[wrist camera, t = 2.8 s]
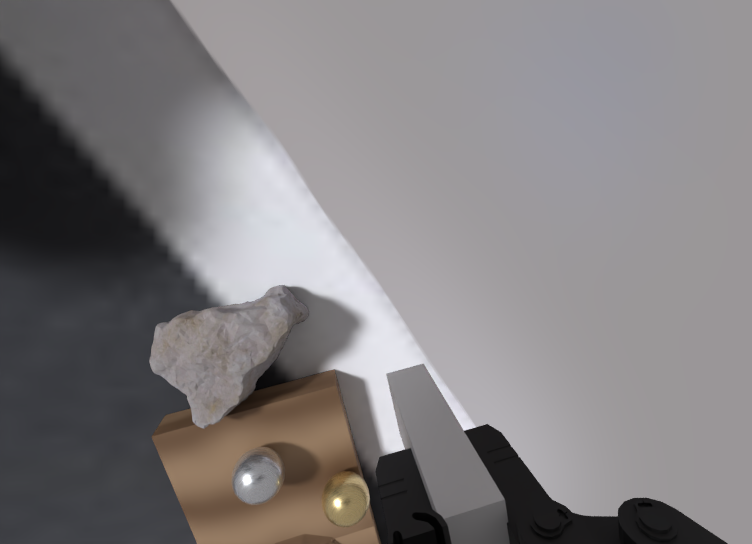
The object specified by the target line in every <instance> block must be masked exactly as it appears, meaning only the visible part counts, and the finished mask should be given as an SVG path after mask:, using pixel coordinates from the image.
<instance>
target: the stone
mask: <svg viewBox="0 0 752 544" xmlns="http://www.w3.org/2000/svg"><path fill="white" fill-rule="evenodd" d="M308 315H309V311H308V309H307V307H306V306H305V305H304V304H303V303H302V302H300V301H298V300H297V299H296V297H295V296H294V295H293V294H292V293H291V292H290V290H288V289H287V288H286V287H285V285H279V286H276V287H273V288H270V289H269V290H268V291H267V292H266V294H265V295H264V296H263V297H261V298H260V299H257V300H255V301H253V302H245V303H243V304H233V305H227V306H220V307H212V308H209V309H205V310H202V311H193V310H191V311H188V312H186V313H182V314H180V315H178V316H176V317H175V318H173V319H172V321H170V322H163V323H160V324H158V325H157V326H156V329H155V333H154V341H153V345H152V348H151V357H150V360H149V362H150V365H151V368H152V370H153V372H154V373H155V374H158V375H161V376H162V377H164V378H165V379H166V380H167V381H168V382H169V383H170V384H171V385H173V386H174V387H176V388H177V389H179V390H180V391H181V392H182V393H184V394H186V395H187V399H188V402H189V404H190V406H191V412H192V420H193V422H194V423H195V425H197V426H198V427H200V428H206V427H207V426H208V425H209V424H215V423H218V422H220V421H221V420H222V419H223V418H224V416H226V415H227V414H228V413H229V412H230V411H231V410H233V409H234V408H235V407H236V406H237V405H239V404H240V403H241V402H242V401H245V400H246V399H247V398H248V396H249V395H251V394H252V393H253V391H254V389H255V388H256V385H255V384H256V382H257V380H258V378H259V377H260V376H262V375H263V373H264V372H265V370H267V369H268V368H269V367H270V366H271V364H272V363H273V362H274V361H275V360H276V359H277V357H278V355H279V352H280V350H281V349H282V348H283V346H284V343H285V341H286V339H287V337H288V334H289V333H290V331H291V328H292V326H293V325H294V324H298V323H299V322H303V321H304V320H305V319H306V318H307V317H308Z"/></svg>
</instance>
